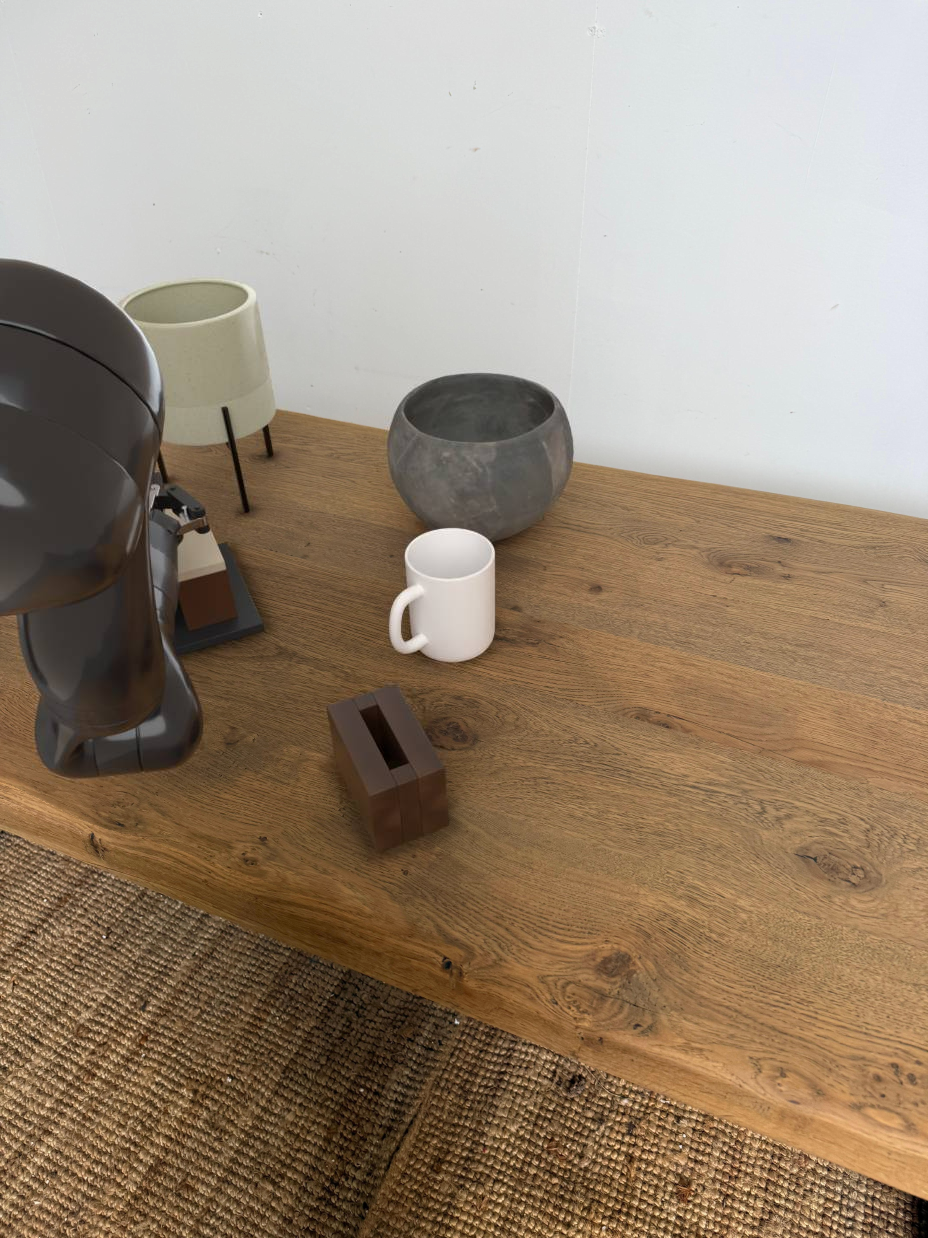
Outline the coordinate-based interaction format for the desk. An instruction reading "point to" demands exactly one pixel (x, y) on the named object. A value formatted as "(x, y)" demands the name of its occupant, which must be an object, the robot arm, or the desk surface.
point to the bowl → (480, 453)
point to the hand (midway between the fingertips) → (136, 479)
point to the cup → (447, 596)
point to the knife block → (388, 767)
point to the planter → (208, 362)
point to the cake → (210, 595)
